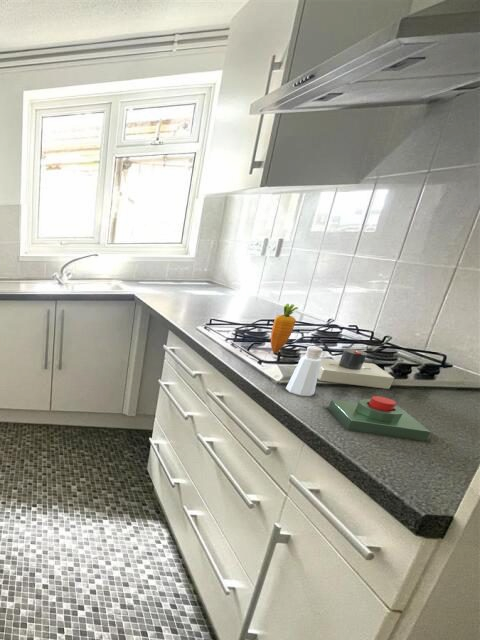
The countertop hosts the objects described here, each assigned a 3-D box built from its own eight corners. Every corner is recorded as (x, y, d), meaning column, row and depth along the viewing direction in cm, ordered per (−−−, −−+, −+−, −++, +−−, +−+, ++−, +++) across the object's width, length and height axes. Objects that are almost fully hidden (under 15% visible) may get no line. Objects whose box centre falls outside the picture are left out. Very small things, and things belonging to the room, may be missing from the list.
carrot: (266, 349, 127) (282, 300, 121) (286, 353, 123) (303, 303, 117) (262, 353, 123) (278, 303, 117) (282, 357, 120) (299, 306, 114)
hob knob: (335, 362, 108) (341, 346, 106) (356, 364, 107) (363, 348, 105) (342, 368, 104) (349, 352, 103) (364, 370, 103) (371, 354, 101)
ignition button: (387, 405, 84) (390, 397, 83) (396, 413, 81) (400, 405, 80) (364, 402, 85) (368, 395, 84) (373, 410, 82) (376, 402, 81)
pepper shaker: (299, 386, 101) (314, 343, 97) (319, 395, 96) (337, 351, 92) (279, 387, 100) (294, 344, 96) (299, 397, 96) (316, 352, 91)
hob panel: (369, 374, 109) (374, 363, 107) (389, 389, 100) (394, 377, 99) (305, 367, 113) (309, 356, 112) (319, 380, 105) (323, 369, 103)
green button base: (397, 418, 87) (405, 400, 85) (425, 441, 78) (435, 423, 77) (327, 408, 91) (334, 391, 89) (347, 429, 82) (354, 411, 80)
